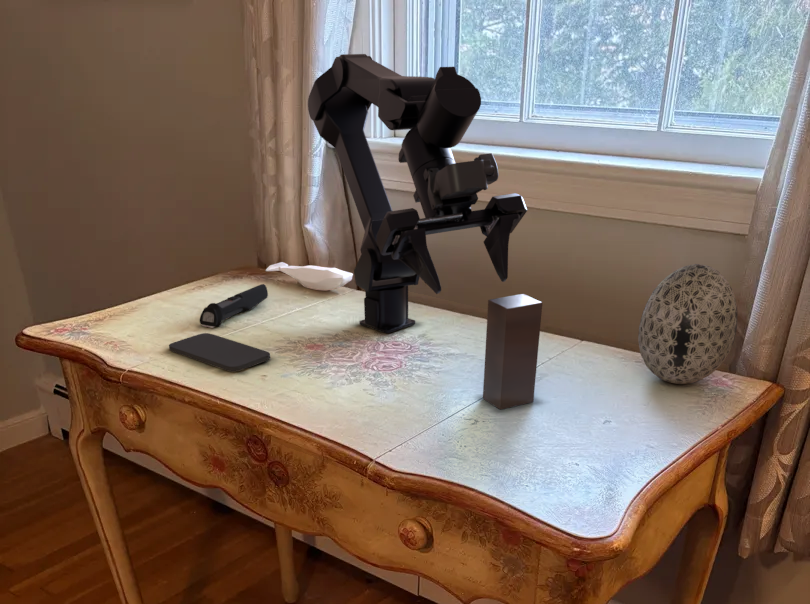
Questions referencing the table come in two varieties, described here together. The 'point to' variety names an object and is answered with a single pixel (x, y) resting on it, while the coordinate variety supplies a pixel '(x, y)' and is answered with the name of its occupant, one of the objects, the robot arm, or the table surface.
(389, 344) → the table surface
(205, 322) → the electric trimmer
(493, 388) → the walnut block
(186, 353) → the phone
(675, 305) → the decorative egg
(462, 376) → the table surface
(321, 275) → the white fish figurine
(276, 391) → the table surface
